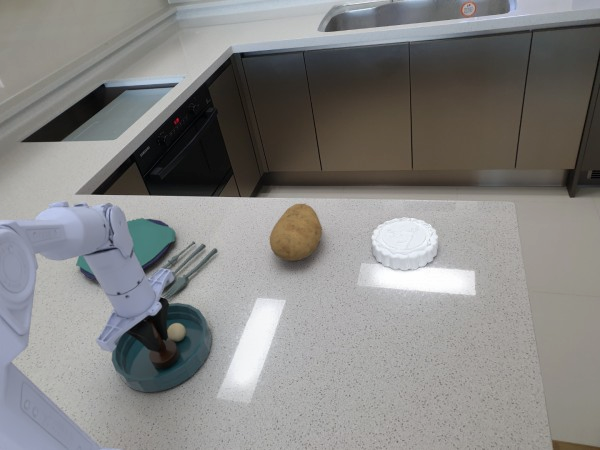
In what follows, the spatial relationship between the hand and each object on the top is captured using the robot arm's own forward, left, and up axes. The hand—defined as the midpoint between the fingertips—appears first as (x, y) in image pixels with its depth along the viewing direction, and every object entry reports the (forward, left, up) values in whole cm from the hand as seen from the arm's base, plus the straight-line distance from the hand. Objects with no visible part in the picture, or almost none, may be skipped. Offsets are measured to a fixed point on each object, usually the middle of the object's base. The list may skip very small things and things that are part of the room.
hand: (158, 343), depth 71 cm
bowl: (+1, +2, -4) cm, 5 cm away
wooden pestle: (0, 0, -3) cm, 3 cm away
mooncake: (+41, -20, -5) cm, 46 cm away
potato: (+32, -2, -5) cm, 32 cm away
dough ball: (+4, +1, -2) cm, 5 cm away
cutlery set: (+14, +26, -5) cm, 29 cm away
